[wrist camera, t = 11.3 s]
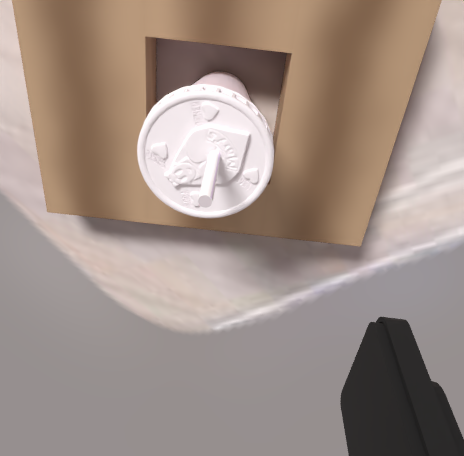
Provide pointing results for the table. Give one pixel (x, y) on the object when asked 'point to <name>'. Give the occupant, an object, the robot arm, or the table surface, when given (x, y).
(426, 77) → the table surface
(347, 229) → the socket board
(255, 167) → the smoothie
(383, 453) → the robot arm
